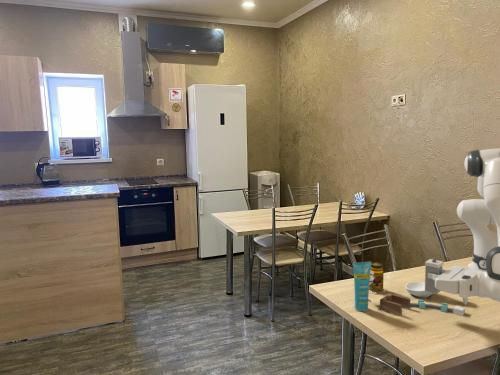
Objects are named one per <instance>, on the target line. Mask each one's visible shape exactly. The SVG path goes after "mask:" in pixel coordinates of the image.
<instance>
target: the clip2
mask: <svg viewBox="0 0 500 375" xmlns="http://www.w3.org/2000/svg"><path fill="white" fill-rule="evenodd" d="M417 303H419V307H418V308H419V309H422V310H423V309H426V308H425V304H426V302H425V300H424V299H417Z"/></svg>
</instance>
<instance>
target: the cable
mask: <svg viewBox="0 0 500 375" xmlns="http://www.w3.org/2000/svg"><path fill="white" fill-rule="evenodd" d="M410 308H419V303H418V302H410ZM426 308H427V309H435V310H439V311H441V305H437V304H432V303H429V304H428V303H425V309H426ZM447 312H449V313H453V314H456V315H458V316H462V317H463V316H464V315H465V314H466V307H462V306H461V305H455V306H453V307H452V308H451V307H448V308H447Z"/></svg>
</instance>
